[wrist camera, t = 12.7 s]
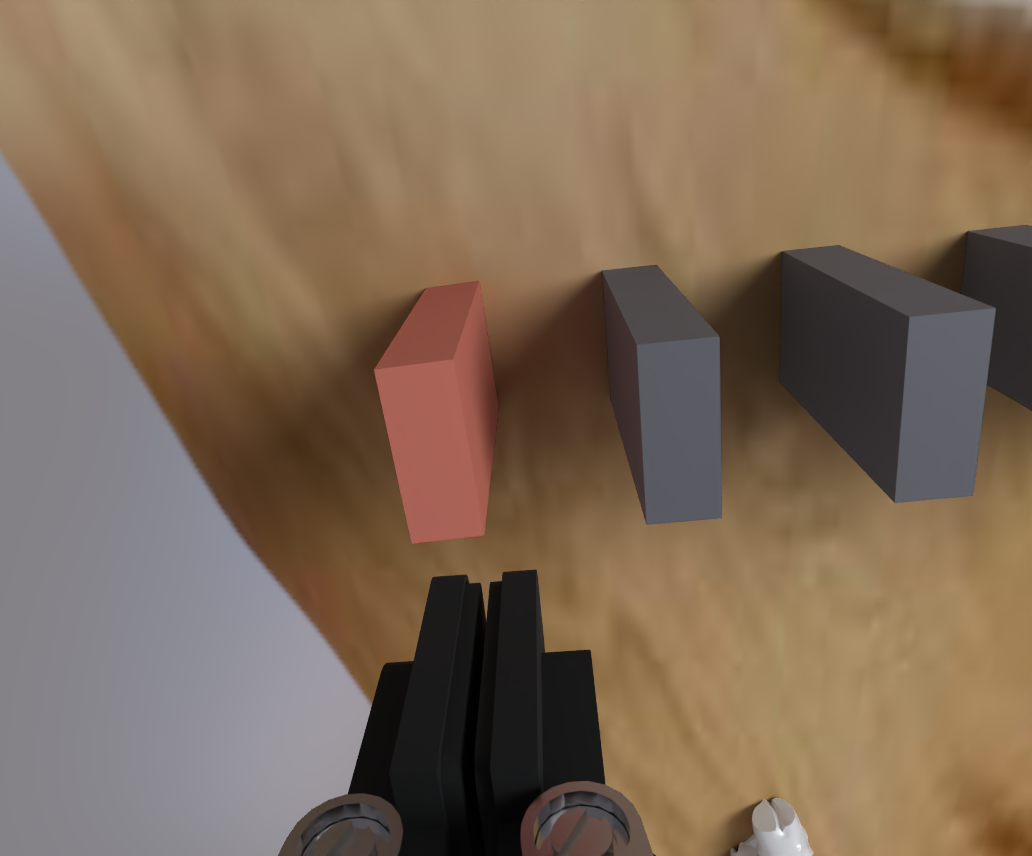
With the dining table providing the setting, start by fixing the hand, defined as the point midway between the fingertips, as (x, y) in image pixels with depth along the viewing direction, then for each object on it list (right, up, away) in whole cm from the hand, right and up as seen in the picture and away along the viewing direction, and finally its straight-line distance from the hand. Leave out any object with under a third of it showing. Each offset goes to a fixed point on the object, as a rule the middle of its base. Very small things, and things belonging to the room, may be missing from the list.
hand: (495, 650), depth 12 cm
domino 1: (+5, +7, +17) cm, 19 cm away
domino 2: (+11, +8, +16) cm, 21 cm away
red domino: (-2, +7, +17) cm, 18 cm away
